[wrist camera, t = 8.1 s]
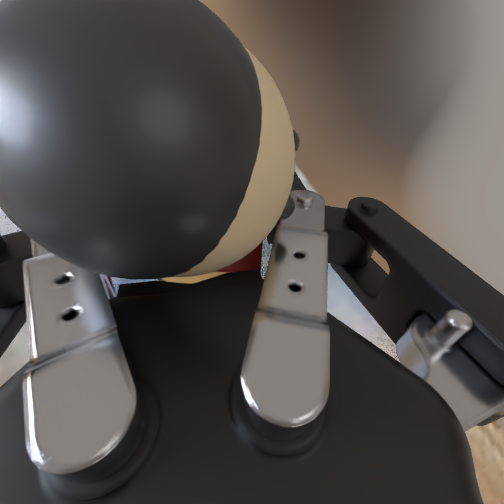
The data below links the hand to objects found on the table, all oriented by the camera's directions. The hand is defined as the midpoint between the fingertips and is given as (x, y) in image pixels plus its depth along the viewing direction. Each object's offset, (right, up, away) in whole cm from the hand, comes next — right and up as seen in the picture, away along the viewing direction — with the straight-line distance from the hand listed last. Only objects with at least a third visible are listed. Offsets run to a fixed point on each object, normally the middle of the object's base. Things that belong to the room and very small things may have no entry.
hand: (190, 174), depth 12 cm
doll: (-1, -2, +5) cm, 5 cm away
